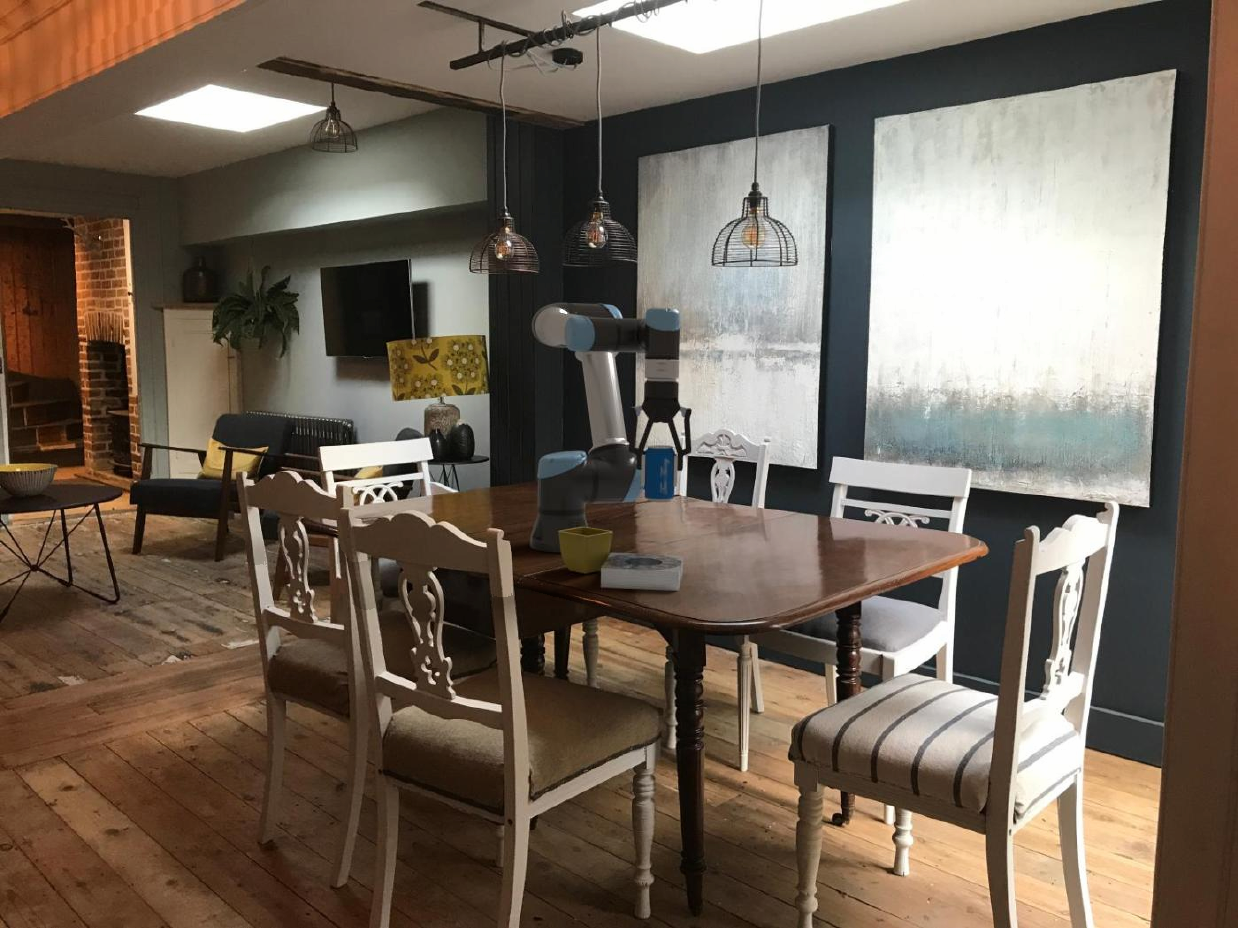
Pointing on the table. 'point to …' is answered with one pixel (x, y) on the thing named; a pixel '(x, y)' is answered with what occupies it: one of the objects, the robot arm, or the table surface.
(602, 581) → the jig
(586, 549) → the flower pot
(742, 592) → the table surface
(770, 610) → the table surface
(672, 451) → the beverage can
